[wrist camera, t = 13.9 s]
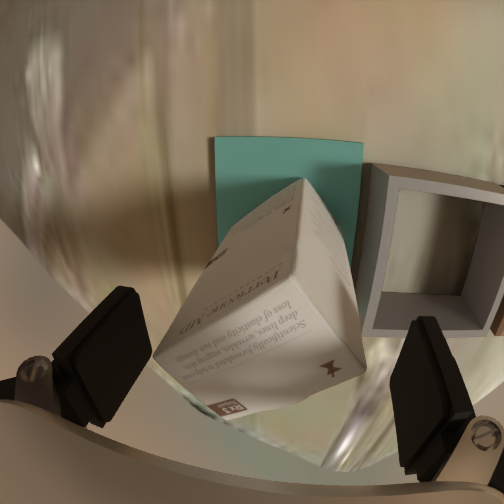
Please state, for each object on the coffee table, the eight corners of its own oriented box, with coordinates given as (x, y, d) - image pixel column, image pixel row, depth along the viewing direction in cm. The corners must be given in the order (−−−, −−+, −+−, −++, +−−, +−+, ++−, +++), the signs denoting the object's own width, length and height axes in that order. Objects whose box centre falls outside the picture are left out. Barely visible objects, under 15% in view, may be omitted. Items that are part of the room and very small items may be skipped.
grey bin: (493, 183, 16) (529, 200, 12) (464, 302, 20) (485, 336, 16) (371, 162, 18) (389, 175, 13) (353, 297, 21) (360, 336, 17)
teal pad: (361, 142, 17) (363, 143, 17) (341, 310, 22) (342, 314, 22) (217, 136, 19) (214, 137, 18) (223, 300, 23) (221, 304, 23)
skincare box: (303, 173, 18) (292, 258, 7) (344, 230, 19) (377, 372, 8) (227, 228, 20) (139, 352, 9) (268, 279, 21) (226, 427, 10)
